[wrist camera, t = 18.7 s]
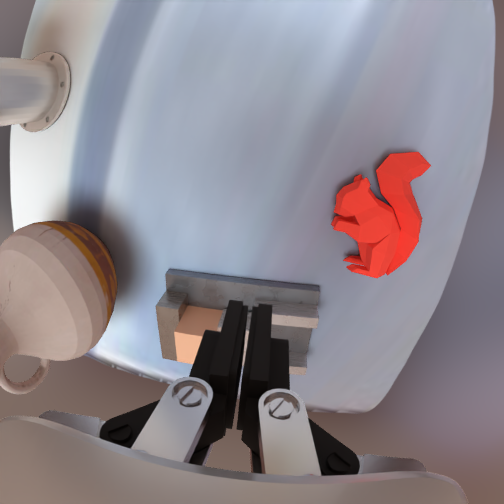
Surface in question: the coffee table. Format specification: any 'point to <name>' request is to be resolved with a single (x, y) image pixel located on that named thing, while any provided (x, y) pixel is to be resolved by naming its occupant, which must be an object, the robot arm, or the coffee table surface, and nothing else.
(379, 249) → the animal figurine
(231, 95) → the coffee table surface
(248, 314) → the light grey sliding block
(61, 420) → the robot arm
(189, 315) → the block
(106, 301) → the jug
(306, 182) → the coffee table surface
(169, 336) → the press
